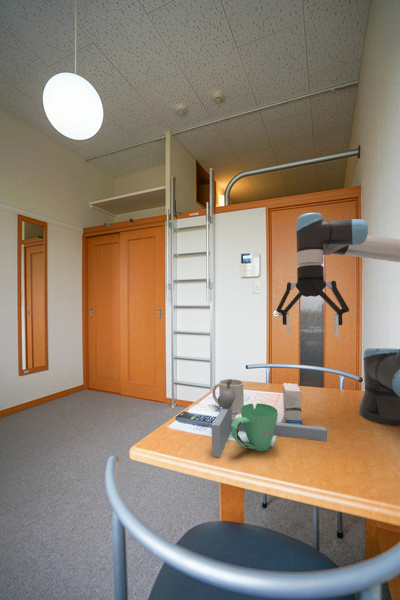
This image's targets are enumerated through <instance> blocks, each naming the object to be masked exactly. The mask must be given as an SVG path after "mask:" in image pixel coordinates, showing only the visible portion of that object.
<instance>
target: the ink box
mask: <svg viewBox="0 0 400 600" xmlns="http://www.w3.org/2000/svg"><path fill="white" fill-rule="evenodd" d="M282 392H283V394H282V395H283V396H282V398H283V420H284V423H289V424H298V425H303V416H302V414H303V413H302V392H301V389H300V387H299V385H298V383H289V382H288V383H287V382H284V383H282Z"/></svg>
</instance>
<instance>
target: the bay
mask: <svg viewBox="0 0 400 600" xmlns="http://www.w3.org/2000/svg"><path fill="white" fill-rule="evenodd" d="M227 379H228V380H227V389H225V390H223V391H222V393H221V394H220V396H218V397H217V399H218V403H217V404H218V406H219V408H220V407H222V409H221V410H220V409H219V411H218V414H217V416H216V417H215V419H213V420H214V421H213V422H212V424H211V453H212V454H211V456H212V457H214V458H221V457H222V454H223V451H224V449H225V446H226V444H227V442H228V439H229V437H230V434H232V431H231V424H232V422H233V420H234V419H236V418H237V417H233V414H232V403H233V402H234V400H235V393H234V392H233V391H232V390H231V389H230V384H231V383H232V379H233V378H227ZM327 429H328V428H327V427H325V426H324V427H323V426H313V425H305V424H302V425H298V424H289V423H285V422H278V421H277V422H276V427H275V431H274V435H273V436H279V437H280V436H281V437H288V438H289V437H290V438H295V439H296V438H297V439H303V440H304V439H305V440H313V441H320V442H328V430H327ZM238 432H245V429H244V424H243V423H242V424H240V425H239V427H238Z"/></svg>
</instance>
